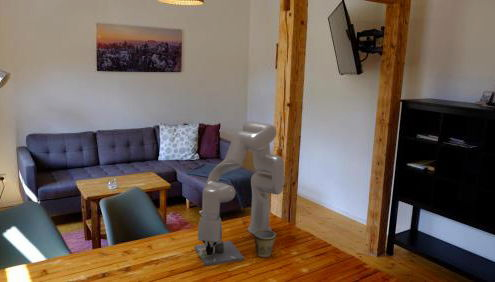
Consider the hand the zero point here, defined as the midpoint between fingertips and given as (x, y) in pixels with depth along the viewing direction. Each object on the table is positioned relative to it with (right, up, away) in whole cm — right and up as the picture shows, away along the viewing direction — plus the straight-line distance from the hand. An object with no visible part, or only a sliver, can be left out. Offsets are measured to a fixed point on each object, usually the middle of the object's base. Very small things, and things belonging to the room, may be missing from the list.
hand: (209, 253), depth 182 cm
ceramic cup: (+25, -2, +9) cm, 27 cm away
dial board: (+4, -2, +6) cm, 7 cm away
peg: (+1, -1, +4) cm, 4 cm away
